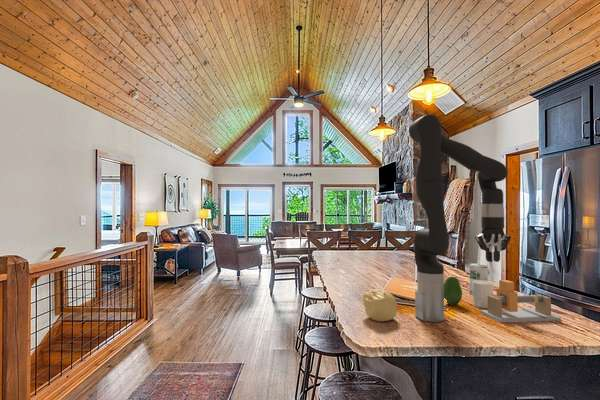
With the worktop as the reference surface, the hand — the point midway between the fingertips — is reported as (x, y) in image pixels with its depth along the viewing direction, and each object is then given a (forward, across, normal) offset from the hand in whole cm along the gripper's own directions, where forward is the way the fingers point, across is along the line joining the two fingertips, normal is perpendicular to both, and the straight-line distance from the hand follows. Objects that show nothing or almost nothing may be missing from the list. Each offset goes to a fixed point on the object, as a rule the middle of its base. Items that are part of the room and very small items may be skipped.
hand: (493, 261), depth 124 cm
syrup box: (+21, +16, +31) cm, 41 cm away
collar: (+18, +6, 0) cm, 19 cm away
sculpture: (+21, -44, +2) cm, 49 cm away
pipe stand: (+21, +10, 0) cm, 24 cm away
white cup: (+21, +6, +14) cm, 26 cm away
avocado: (+21, -6, +17) cm, 28 cm away
